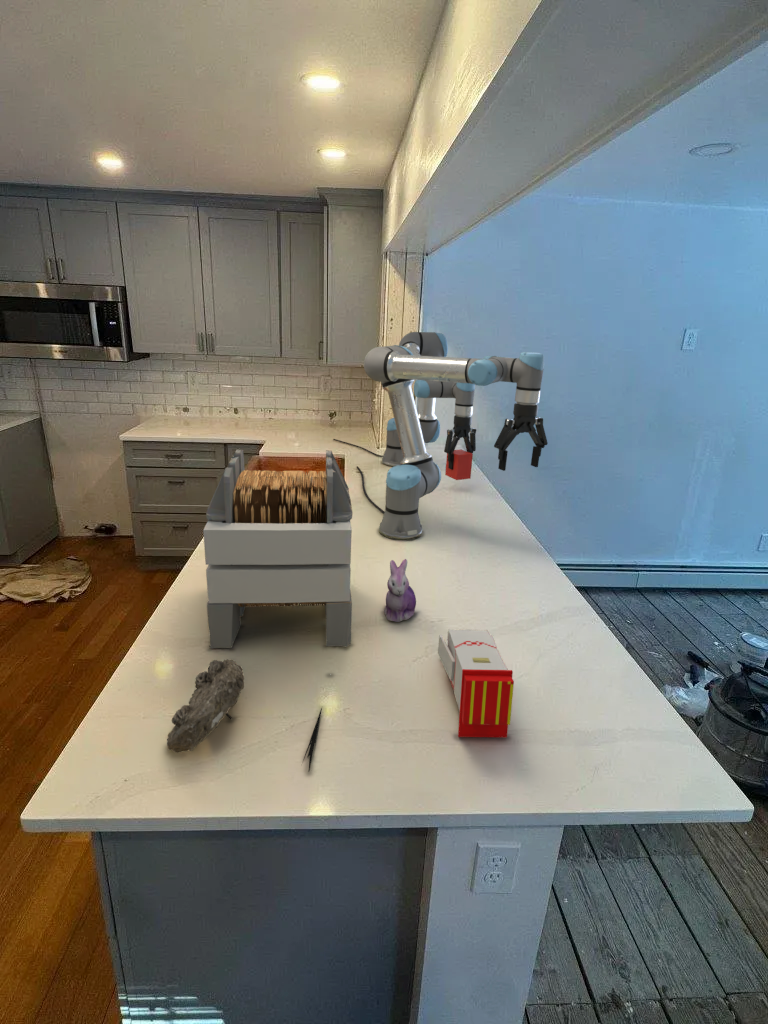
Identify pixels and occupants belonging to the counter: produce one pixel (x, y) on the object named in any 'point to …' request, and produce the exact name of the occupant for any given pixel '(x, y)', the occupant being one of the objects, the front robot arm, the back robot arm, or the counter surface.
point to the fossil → (206, 705)
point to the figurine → (399, 594)
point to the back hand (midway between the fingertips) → (458, 467)
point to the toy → (478, 682)
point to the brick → (460, 465)
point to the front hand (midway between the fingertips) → (518, 468)
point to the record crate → (278, 547)
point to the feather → (313, 740)
